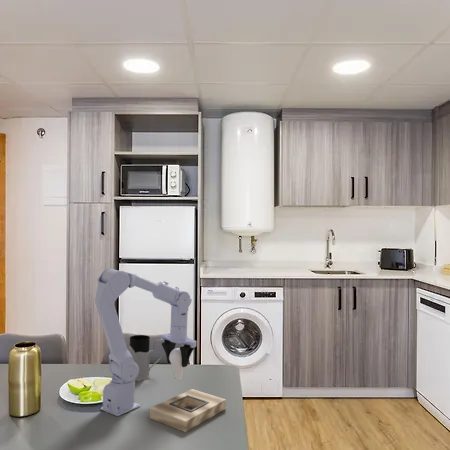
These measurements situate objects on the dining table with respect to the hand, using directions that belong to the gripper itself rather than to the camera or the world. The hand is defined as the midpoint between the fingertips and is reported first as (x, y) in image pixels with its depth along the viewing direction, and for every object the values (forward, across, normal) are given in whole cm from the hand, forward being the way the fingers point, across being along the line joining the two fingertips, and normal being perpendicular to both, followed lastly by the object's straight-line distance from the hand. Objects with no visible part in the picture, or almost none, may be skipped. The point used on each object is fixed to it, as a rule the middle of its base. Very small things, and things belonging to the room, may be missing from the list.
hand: (177, 364), depth 148 cm
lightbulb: (+6, 0, 0) cm, 6 cm away
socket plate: (+10, -13, +9) cm, 19 cm away
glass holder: (+10, +21, -6) cm, 24 cm away
